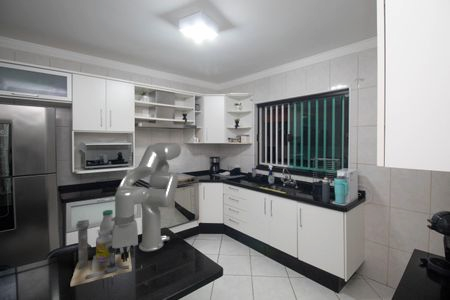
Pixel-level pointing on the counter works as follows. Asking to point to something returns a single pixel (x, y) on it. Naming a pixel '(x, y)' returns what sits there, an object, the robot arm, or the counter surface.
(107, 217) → the milk bottle
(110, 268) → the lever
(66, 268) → the counter surface
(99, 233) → the supplement bottle
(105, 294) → the counter surface
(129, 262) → the press
